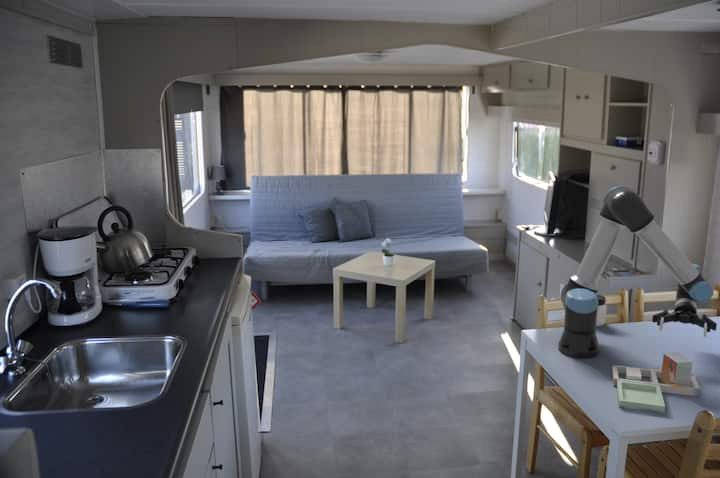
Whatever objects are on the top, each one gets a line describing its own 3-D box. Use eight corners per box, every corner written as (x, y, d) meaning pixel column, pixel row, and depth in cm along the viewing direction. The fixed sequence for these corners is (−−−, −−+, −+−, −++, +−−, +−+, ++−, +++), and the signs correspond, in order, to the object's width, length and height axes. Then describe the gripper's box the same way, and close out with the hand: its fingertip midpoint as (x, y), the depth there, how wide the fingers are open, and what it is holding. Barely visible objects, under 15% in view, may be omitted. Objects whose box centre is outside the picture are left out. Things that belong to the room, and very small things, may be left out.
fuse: (626, 384, 207) (627, 375, 206) (625, 375, 213) (625, 366, 213) (641, 386, 205) (641, 377, 205) (639, 377, 212) (640, 368, 211)
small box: (660, 381, 209) (662, 352, 206) (675, 380, 209) (678, 352, 207) (673, 392, 201) (676, 362, 199) (689, 391, 201) (693, 361, 199)
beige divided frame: (613, 385, 206) (614, 378, 205) (612, 371, 217) (612, 364, 216) (699, 396, 197) (700, 388, 197) (693, 381, 208) (694, 373, 208)
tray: (619, 407, 192) (619, 400, 191) (616, 386, 205) (617, 380, 205) (664, 413, 187) (665, 406, 187) (659, 392, 201) (659, 385, 200)
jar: (595, 328, 258) (597, 301, 255) (579, 322, 265) (580, 296, 262) (608, 323, 263) (610, 297, 260) (592, 318, 269) (593, 292, 267)
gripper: (723, 325, 222) (723, 345, 204) (648, 315, 234) (642, 334, 216) (724, 306, 220) (725, 324, 202) (649, 297, 233) (643, 314, 215)
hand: (682, 329), depth 209 cm, fingers open, 13 cm apart
